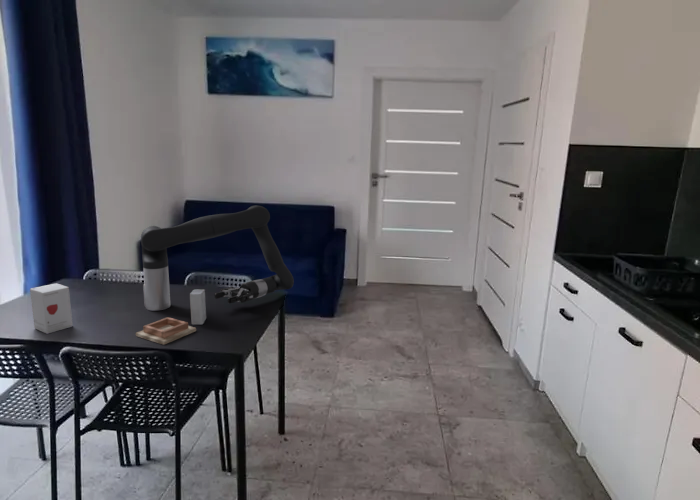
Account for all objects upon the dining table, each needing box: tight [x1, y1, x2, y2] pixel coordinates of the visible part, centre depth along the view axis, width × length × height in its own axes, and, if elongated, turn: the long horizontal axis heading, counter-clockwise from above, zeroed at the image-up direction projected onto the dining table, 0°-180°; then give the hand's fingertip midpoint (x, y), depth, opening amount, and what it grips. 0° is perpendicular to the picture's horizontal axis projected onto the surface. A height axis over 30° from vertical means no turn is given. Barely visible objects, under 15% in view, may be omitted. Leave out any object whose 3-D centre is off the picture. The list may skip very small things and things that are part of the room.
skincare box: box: [189, 288, 207, 326], centre depth 170 cm, size 6×4×12 cm
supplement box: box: [29, 282, 73, 334], centre depth 161 cm, size 9×9×15 cm
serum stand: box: [135, 316, 197, 345], centre depth 159 cm, size 14×14×3 cm
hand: (221, 298), depth 178 cm, fingers open, 8 cm apart
